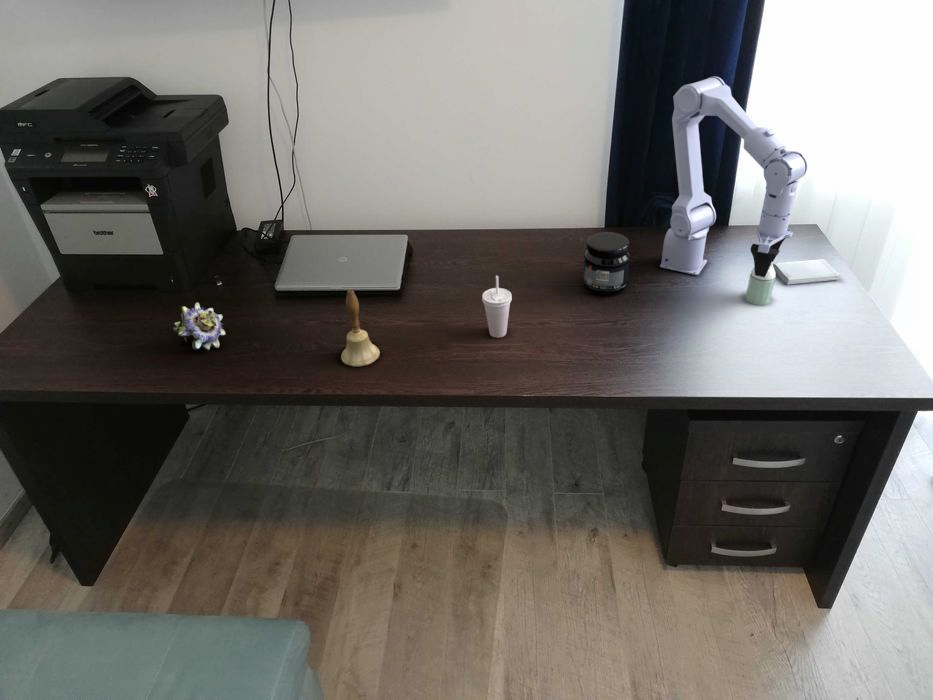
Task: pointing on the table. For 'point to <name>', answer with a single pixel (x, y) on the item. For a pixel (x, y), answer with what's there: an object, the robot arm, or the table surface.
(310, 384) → the table surface
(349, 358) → the hand bell
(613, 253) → the supplement container
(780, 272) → the hard drive
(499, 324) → the smoothie
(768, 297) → the cup
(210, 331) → the passion flower
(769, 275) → the white jar
